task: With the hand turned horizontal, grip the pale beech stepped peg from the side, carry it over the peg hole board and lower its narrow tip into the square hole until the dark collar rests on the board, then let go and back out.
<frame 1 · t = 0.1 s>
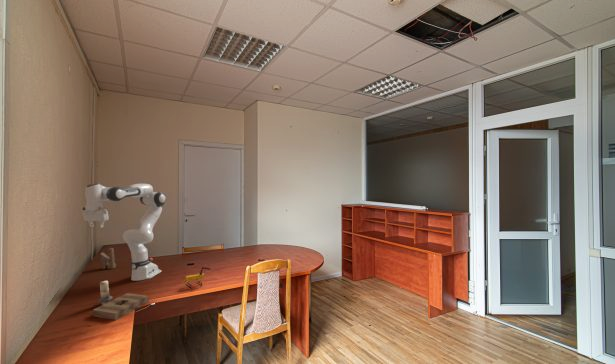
hand: (96, 227, 189), 48 cm above the table, tool pointing down, fingers open, 8 cm apart
peg hole board: (122, 308, 171), on the table
robot dog: (198, 286, 200), on the table
beech peg: (105, 304, 178), on the table
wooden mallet: (108, 268, 246), on the table
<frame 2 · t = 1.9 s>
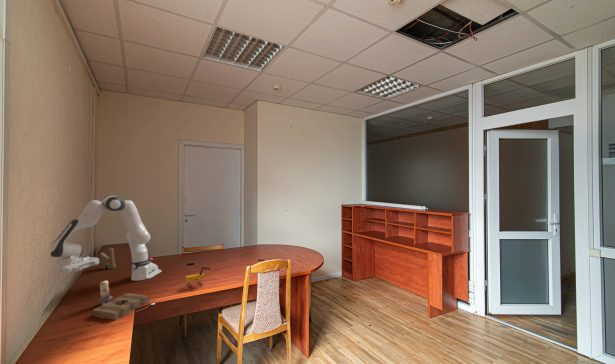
hand: (89, 266, 181), 24 cm above the table, tool horizontal, fingers open, 8 cm apart
nothing on the table moved.
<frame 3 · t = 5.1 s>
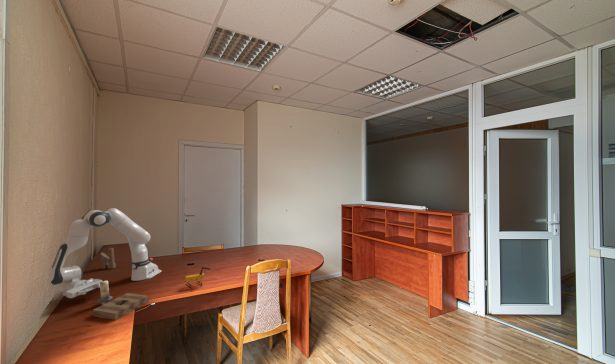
hand: (93, 289, 181), 8 cm above the table, tool horizontal, fingers open, 8 cm apart
nothing on the table moved.
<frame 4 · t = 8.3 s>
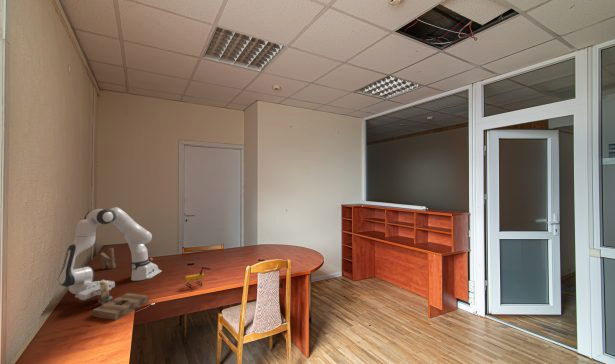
hand: (105, 291, 178), 9 cm above the table, tool horizontal, fingers closed on beech peg, 4 cm apart
beech peg: (105, 304, 178), on the table, touching gripper
everything else where it was.
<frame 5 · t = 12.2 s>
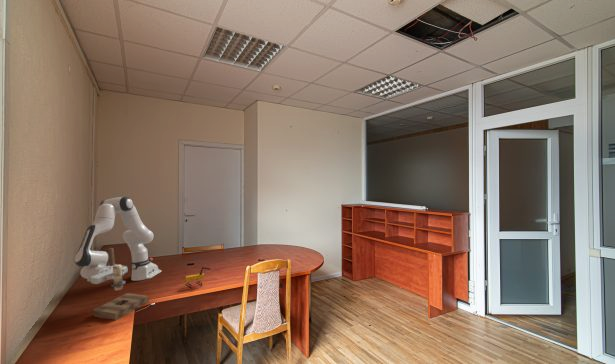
hand: (118, 275, 170), 21 cm above the table, tool horizontal, fingers closed on beech peg, 4 cm apart
beech peg: (118, 288, 171), point 13 cm above the table, touching gripper
everything else where it was.
when the fingers open (9 cm above the table, at t = 16.4 s): beech peg stays where it is, resting on peg hole board.
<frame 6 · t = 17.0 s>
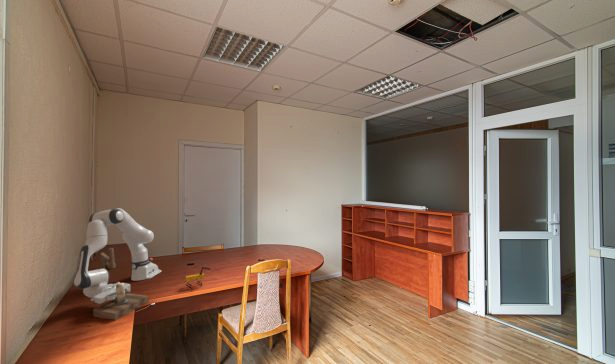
hand: (122, 294, 170), 9 cm above the table, tool horizontal, fingers open, 8 cm apart
beech peg: (121, 307, 171), point 1 cm above the table, touching peg hole board
everything else where it was.
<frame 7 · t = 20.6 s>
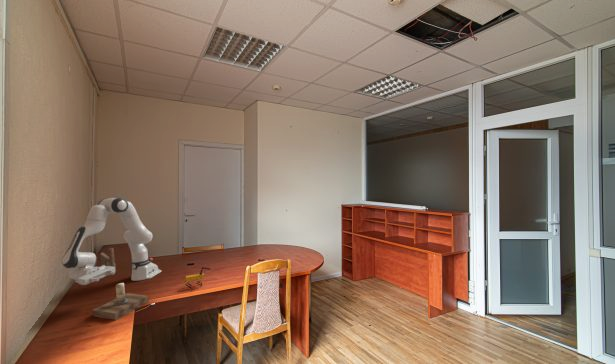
hand: (106, 276, 174), 19 cm above the table, tool horizontal, fingers open, 8 cm apart
nothing on the table moved.
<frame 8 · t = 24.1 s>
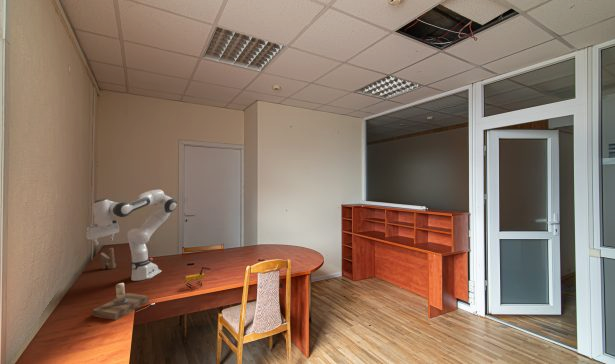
hand: (104, 242, 189), 37 cm above the table, tool pointing down, fingers open, 8 cm apart
nothing on the table moved.
at the end: beech peg 0.1 cm off-centre on the peg hole board, point 1.0 cm above the peg hole board's base; beech peg tilted 0°; the gripper is holding nothing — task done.
